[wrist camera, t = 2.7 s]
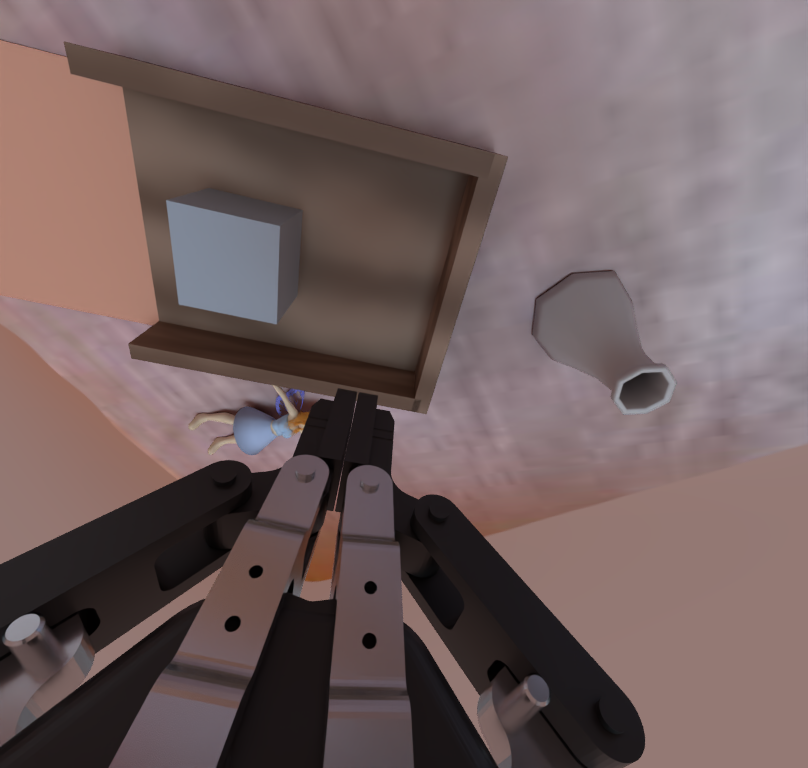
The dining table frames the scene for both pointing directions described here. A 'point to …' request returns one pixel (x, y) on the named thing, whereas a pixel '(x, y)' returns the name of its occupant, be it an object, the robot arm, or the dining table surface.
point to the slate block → (235, 254)
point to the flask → (601, 339)
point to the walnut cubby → (308, 231)
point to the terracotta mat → (69, 191)
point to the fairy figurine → (256, 425)
